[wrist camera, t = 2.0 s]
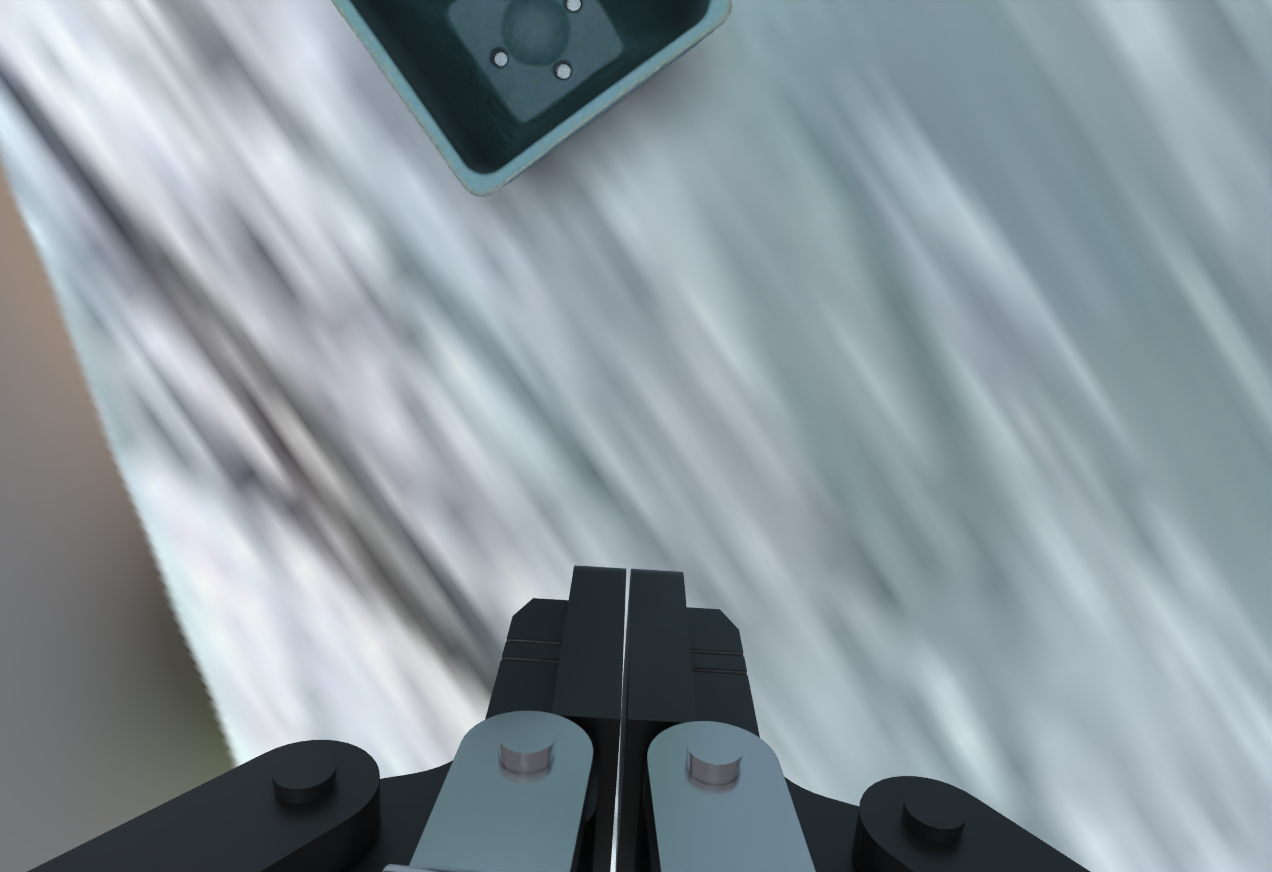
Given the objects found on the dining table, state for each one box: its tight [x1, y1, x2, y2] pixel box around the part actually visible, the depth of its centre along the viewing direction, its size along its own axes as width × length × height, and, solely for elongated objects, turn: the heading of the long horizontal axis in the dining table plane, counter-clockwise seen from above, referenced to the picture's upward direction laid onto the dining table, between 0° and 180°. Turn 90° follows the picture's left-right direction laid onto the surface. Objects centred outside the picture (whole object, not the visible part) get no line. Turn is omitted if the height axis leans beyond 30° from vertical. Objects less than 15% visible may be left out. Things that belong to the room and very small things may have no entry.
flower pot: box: [331, 0, 732, 197], centre depth 29 cm, size 9×9×9 cm
